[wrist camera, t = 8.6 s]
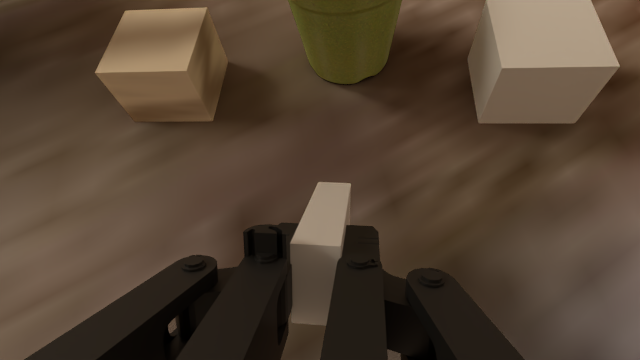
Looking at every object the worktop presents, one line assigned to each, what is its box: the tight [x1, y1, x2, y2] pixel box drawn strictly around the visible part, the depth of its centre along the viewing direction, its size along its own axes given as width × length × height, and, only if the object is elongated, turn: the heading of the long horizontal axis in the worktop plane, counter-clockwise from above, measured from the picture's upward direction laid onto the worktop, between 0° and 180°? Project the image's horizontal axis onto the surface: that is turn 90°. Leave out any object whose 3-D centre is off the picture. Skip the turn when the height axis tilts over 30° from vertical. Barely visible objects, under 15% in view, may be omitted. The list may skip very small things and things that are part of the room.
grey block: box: [467, 0, 620, 123], centre depth 24 cm, size 6×6×5 cm
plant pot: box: [288, 0, 402, 84], centre depth 26 cm, size 9×9×9 cm
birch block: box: [95, 7, 228, 122], centre depth 27 cm, size 6×6×5 cm
